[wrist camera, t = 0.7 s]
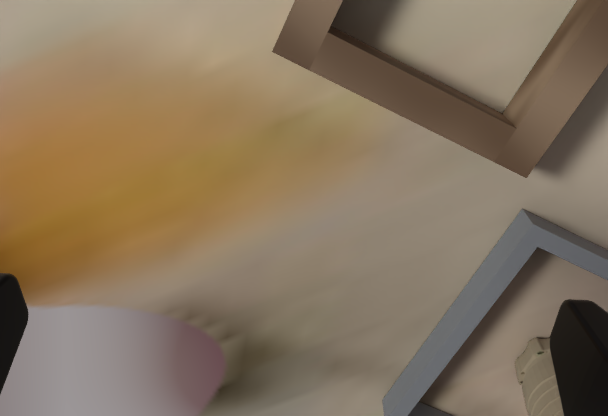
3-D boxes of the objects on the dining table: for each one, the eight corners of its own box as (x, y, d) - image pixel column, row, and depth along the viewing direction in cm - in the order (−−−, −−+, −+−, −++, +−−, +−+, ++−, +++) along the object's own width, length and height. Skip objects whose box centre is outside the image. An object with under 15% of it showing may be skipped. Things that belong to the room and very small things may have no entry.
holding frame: (564, 474, 32) (574, 498, 31) (382, 399, 30) (384, 421, 29) (729, 309, 27) (751, 329, 25) (522, 208, 25) (532, 224, 24)
